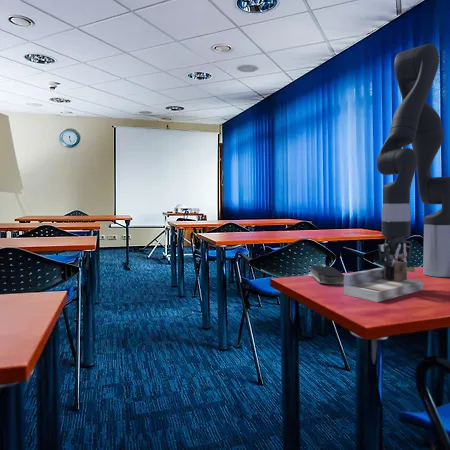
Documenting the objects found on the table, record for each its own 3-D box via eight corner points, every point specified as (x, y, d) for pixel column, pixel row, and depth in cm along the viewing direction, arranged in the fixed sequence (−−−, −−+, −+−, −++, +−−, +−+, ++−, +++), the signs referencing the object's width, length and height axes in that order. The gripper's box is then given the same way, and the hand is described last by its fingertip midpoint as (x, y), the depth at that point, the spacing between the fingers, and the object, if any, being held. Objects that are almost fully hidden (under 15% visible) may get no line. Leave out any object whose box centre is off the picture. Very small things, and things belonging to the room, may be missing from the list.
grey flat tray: (389, 283, 112) (389, 266, 111) (422, 289, 103) (423, 270, 103) (343, 294, 99) (343, 274, 99) (377, 302, 91) (377, 280, 91)
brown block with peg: (393, 277, 109) (393, 260, 109) (419, 281, 103) (419, 263, 102) (383, 279, 106) (384, 262, 106) (409, 283, 100) (409, 265, 100)
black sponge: (309, 276, 127) (309, 265, 127) (333, 275, 127) (333, 265, 127) (319, 286, 111) (318, 274, 111) (347, 286, 111) (347, 274, 110)
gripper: (397, 218, 112) (396, 273, 113) (369, 220, 104) (368, 279, 105) (422, 219, 106) (421, 277, 107) (394, 220, 98) (393, 283, 99)
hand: (395, 278), depth 106 cm, fingers closed on brown block with peg, 5 cm apart
